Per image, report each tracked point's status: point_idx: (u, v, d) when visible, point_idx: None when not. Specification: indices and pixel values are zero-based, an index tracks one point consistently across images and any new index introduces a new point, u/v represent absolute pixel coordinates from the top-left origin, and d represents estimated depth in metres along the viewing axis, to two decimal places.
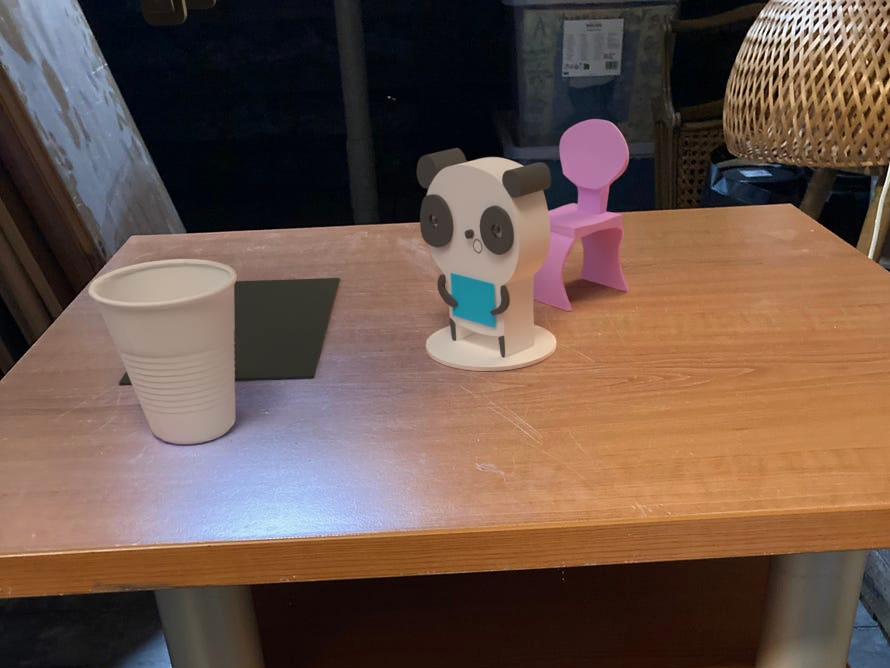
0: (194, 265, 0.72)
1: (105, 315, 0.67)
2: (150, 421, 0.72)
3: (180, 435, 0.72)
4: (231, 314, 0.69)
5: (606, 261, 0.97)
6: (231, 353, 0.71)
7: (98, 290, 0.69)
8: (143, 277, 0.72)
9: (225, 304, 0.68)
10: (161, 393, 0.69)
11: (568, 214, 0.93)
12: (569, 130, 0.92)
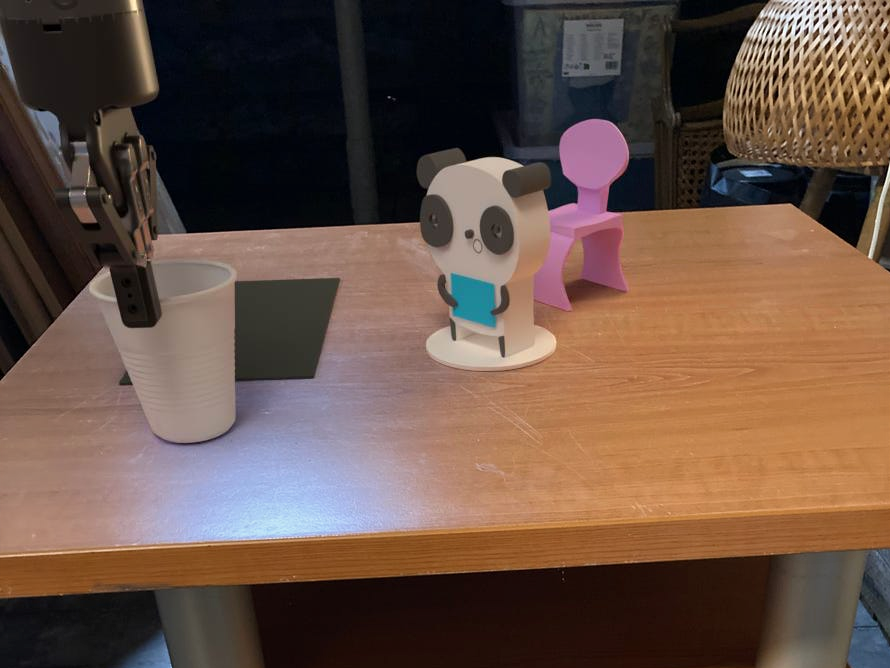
0: (195, 264, 0.72)
1: (105, 312, 0.67)
2: (150, 420, 0.72)
3: (180, 433, 0.72)
4: (231, 312, 0.69)
5: (606, 261, 0.97)
6: (231, 351, 0.71)
7: (99, 288, 0.69)
8: None
9: (225, 301, 0.68)
10: (161, 391, 0.69)
11: (568, 214, 0.93)
12: (569, 130, 0.92)
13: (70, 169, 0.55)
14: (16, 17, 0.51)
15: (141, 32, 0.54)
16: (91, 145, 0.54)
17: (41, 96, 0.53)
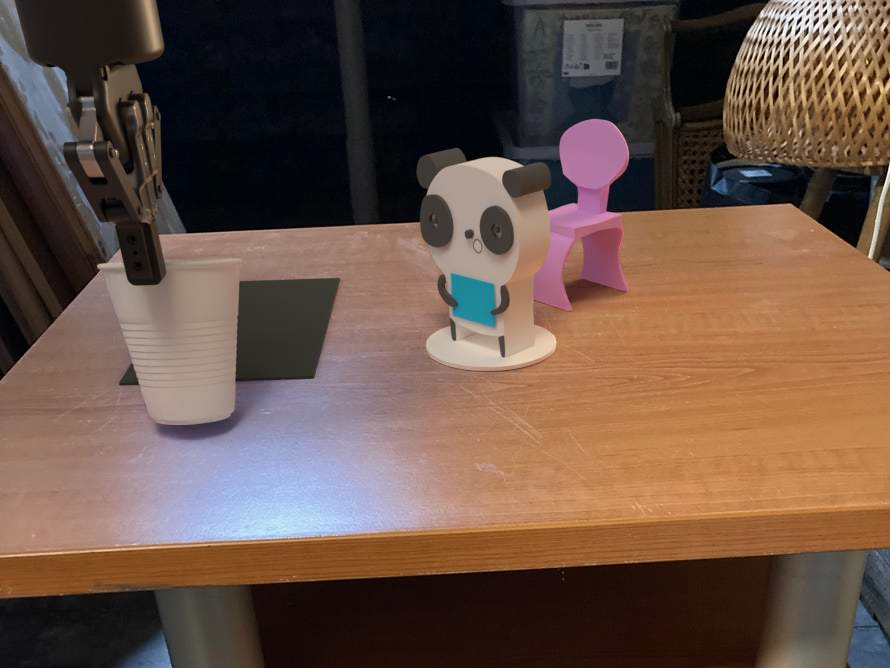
0: None
1: (111, 285, 0.68)
2: (148, 401, 0.72)
3: (177, 412, 0.71)
4: (235, 294, 0.71)
5: (606, 261, 0.97)
6: (233, 335, 0.72)
7: None
8: None
9: (229, 279, 0.69)
10: (161, 364, 0.69)
11: (568, 214, 0.93)
12: (569, 130, 0.92)
13: (77, 124, 0.56)
14: None
15: None
16: (98, 100, 0.55)
17: (49, 51, 0.54)
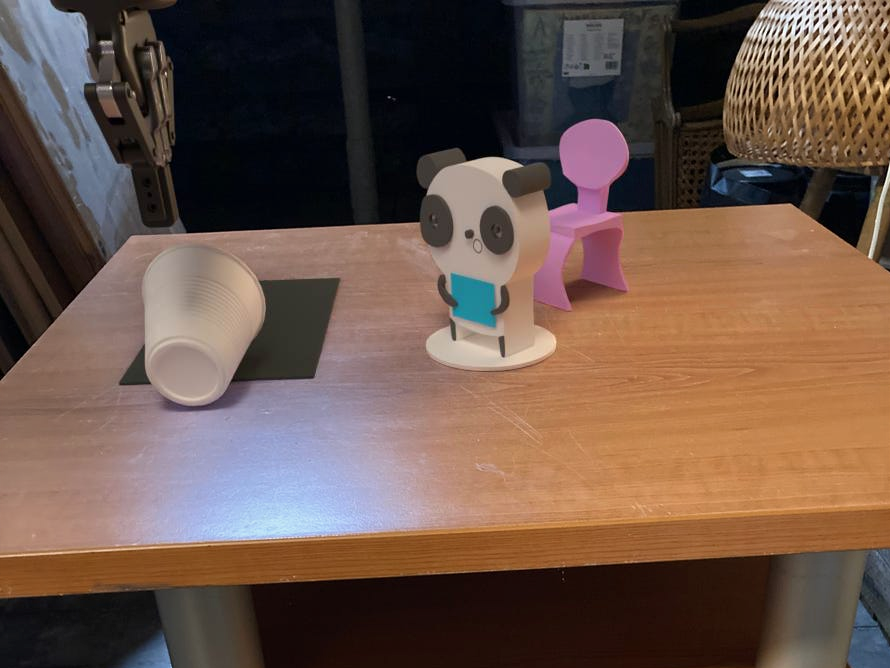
0: None
1: (147, 283, 0.79)
2: (147, 342, 0.74)
3: (169, 331, 0.73)
4: (251, 300, 0.80)
5: (606, 261, 0.97)
6: (241, 318, 0.78)
7: None
8: None
9: (247, 281, 0.80)
10: (167, 303, 0.75)
11: (568, 214, 0.93)
12: (569, 130, 0.92)
13: (97, 67, 0.59)
14: None
15: None
16: (117, 43, 0.58)
17: None
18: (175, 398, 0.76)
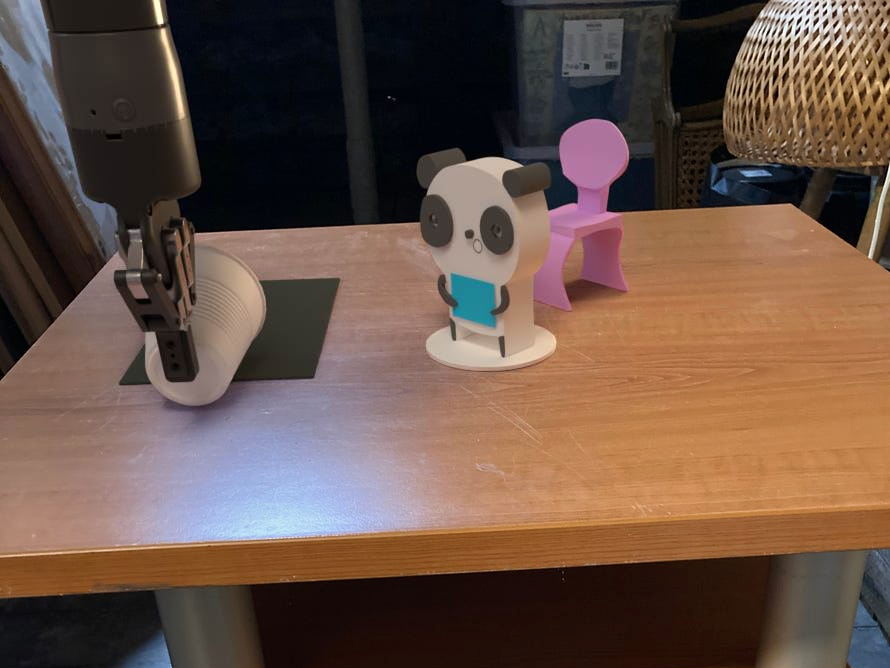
0: None
1: None
2: (148, 342, 0.74)
3: None
4: (251, 300, 0.80)
5: (606, 261, 0.97)
6: (242, 319, 0.78)
7: None
8: None
9: (248, 282, 0.80)
10: None
11: (568, 214, 0.93)
12: (569, 130, 0.92)
13: (125, 252, 0.63)
14: (82, 128, 0.59)
15: (188, 135, 0.62)
16: (144, 233, 0.62)
17: (102, 192, 0.61)
18: (175, 398, 0.76)
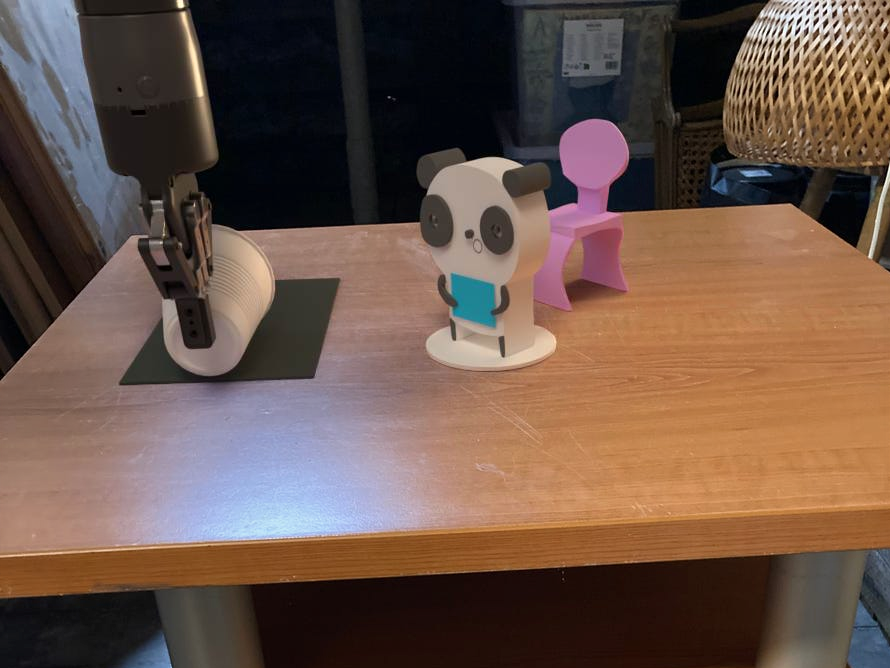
0: None
1: None
2: (166, 314, 0.79)
3: None
4: (262, 278, 0.84)
5: (606, 261, 0.97)
6: (254, 294, 0.83)
7: None
8: None
9: (258, 261, 0.84)
10: None
11: (568, 214, 0.93)
12: (569, 130, 0.92)
13: (148, 222, 0.68)
14: (109, 104, 0.64)
15: (206, 112, 0.67)
16: (166, 203, 0.67)
17: (127, 165, 0.66)
18: (191, 368, 0.81)
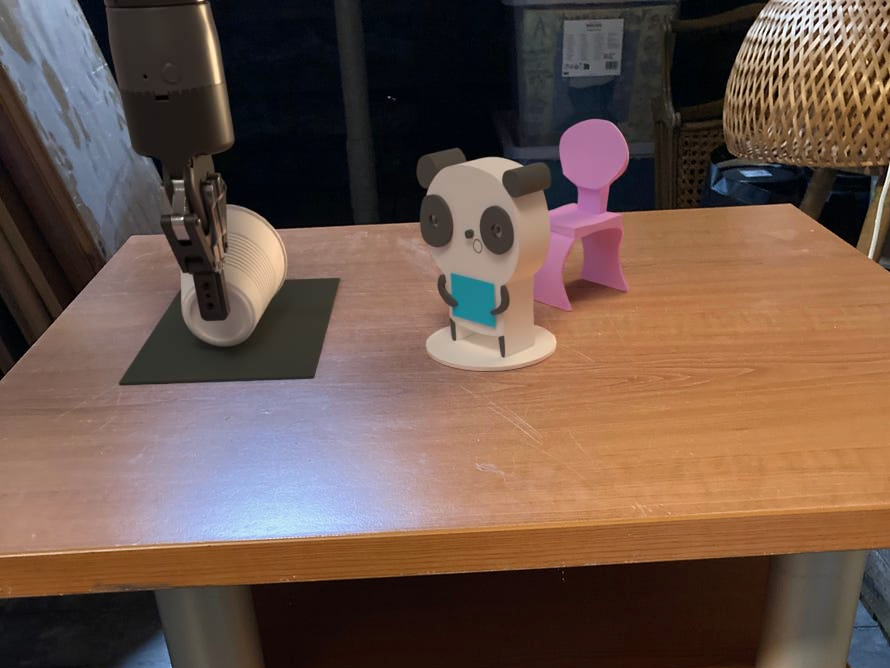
0: None
1: None
2: (184, 287, 0.84)
3: None
4: (275, 255, 0.90)
5: (606, 261, 0.97)
6: (267, 270, 0.88)
7: None
8: None
9: (272, 239, 0.90)
10: None
11: (568, 214, 0.93)
12: (569, 130, 0.92)
13: (170, 200, 0.73)
14: (135, 90, 0.69)
15: (224, 98, 0.72)
16: (187, 182, 0.72)
17: (151, 147, 0.71)
18: (207, 338, 0.86)
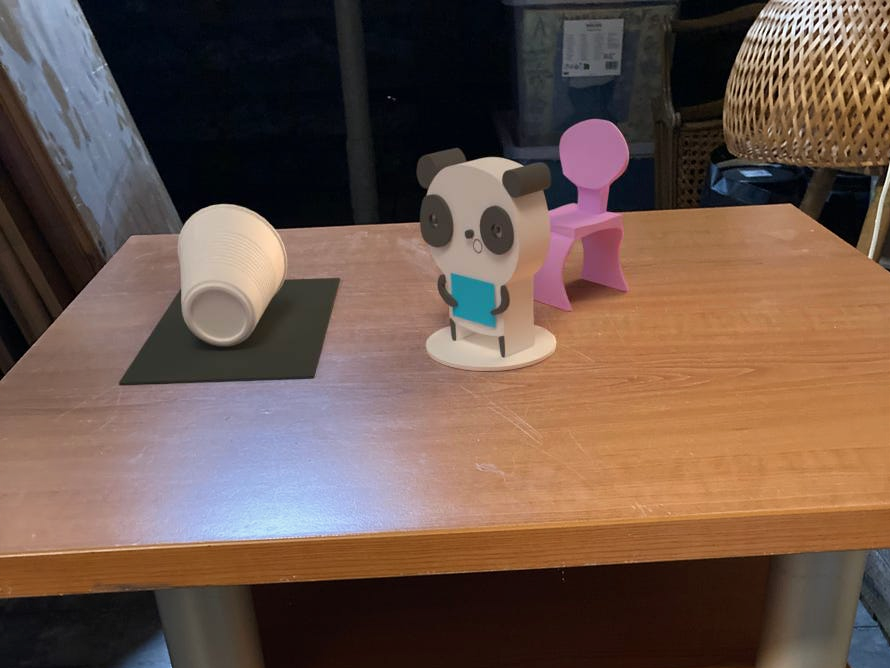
0: None
1: (183, 239, 0.89)
2: (184, 287, 0.84)
3: (204, 276, 0.83)
4: (275, 255, 0.90)
5: (606, 261, 0.97)
6: (267, 270, 0.88)
7: None
8: None
9: (272, 239, 0.90)
10: (202, 254, 0.85)
11: (568, 214, 0.93)
12: (569, 130, 0.92)
13: None
14: None
15: None
16: None
17: None
18: (207, 338, 0.86)
